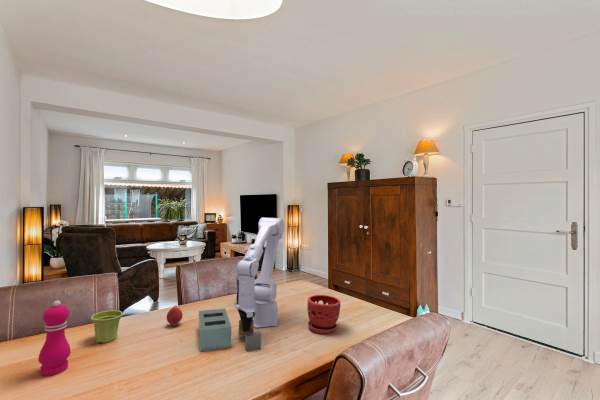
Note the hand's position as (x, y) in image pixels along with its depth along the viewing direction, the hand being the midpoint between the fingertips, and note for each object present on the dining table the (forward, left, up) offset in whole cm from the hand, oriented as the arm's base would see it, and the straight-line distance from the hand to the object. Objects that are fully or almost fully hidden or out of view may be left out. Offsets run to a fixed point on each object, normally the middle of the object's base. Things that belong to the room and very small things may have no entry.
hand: (245, 329), depth 112 cm
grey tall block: (-1, +9, -3) cm, 10 cm away
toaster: (+11, -3, -3) cm, 12 cm away
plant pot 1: (+47, -13, -3) cm, 49 cm away
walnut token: (0, 0, -2) cm, 2 cm away
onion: (+25, -19, -3) cm, 32 cm away
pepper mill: (+56, +5, -3) cm, 56 cm away
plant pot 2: (-31, +1, -3) cm, 31 cm away
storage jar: (-7, -37, -3) cm, 38 cm away
